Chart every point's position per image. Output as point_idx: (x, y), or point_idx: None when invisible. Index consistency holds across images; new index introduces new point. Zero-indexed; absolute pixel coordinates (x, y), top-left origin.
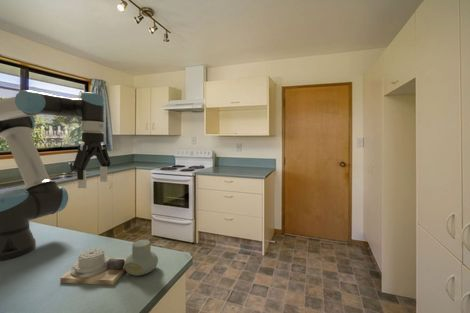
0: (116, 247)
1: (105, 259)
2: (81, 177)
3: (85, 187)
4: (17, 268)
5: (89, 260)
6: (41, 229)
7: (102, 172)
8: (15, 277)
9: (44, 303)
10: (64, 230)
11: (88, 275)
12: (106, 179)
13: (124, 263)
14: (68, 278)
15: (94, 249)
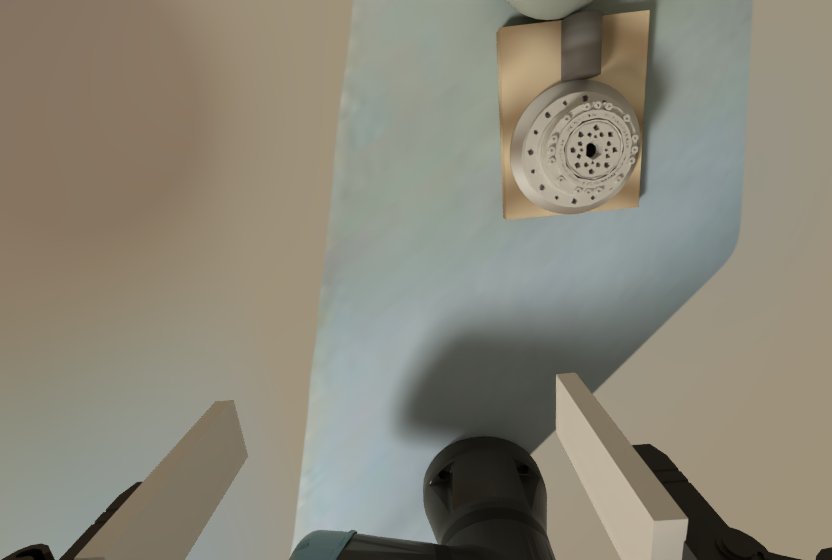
0: (392, 183)
1: (561, 108)
2: (665, 465)
3: (572, 375)
4: None
5: (633, 126)
6: None
7: (185, 520)
8: (610, 348)
9: (724, 167)
10: (309, 468)
11: (635, 115)
12: (218, 415)
13: (587, 2)
14: (639, 179)
15: (561, 162)
